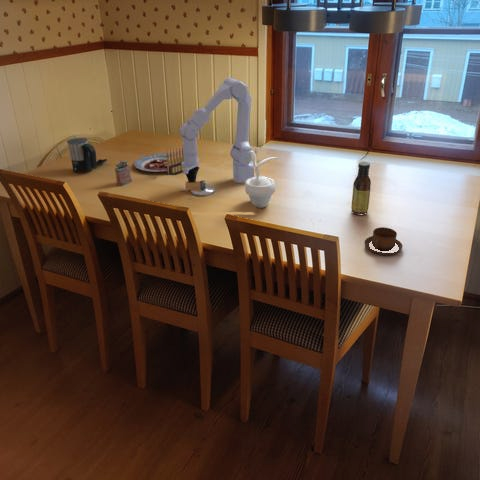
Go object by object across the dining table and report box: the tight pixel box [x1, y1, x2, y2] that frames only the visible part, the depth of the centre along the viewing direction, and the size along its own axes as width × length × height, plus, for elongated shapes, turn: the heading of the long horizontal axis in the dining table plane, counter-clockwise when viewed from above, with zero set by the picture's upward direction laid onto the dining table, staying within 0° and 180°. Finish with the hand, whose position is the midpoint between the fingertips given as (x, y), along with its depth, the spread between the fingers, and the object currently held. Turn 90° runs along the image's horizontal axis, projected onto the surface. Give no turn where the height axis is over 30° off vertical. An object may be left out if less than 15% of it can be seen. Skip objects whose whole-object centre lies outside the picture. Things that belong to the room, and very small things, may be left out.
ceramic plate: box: [134, 153, 170, 173], centre depth 232 cm, size 26×26×3 cm
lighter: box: [114, 160, 133, 187], centre depth 210 cm, size 8×3×10 cm, turn 149°
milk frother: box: [66, 137, 108, 174], centre depth 227 cm, size 14×16×15 cm
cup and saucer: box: [364, 226, 403, 256], centre depth 156 cm, size 12×12×6 cm
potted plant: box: [244, 147, 279, 209], centre depth 184 cm, size 13×12×25 cm
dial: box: [184, 180, 216, 197], centre depth 199 cm, size 12×10×4 cm
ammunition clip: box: [166, 146, 184, 176], centre depth 220 cm, size 11×2×12 cm, turn 136°
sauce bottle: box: [350, 161, 372, 215], centre depth 177 cm, size 6×6×20 cm
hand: (192, 184), depth 202 cm, fingers closed
